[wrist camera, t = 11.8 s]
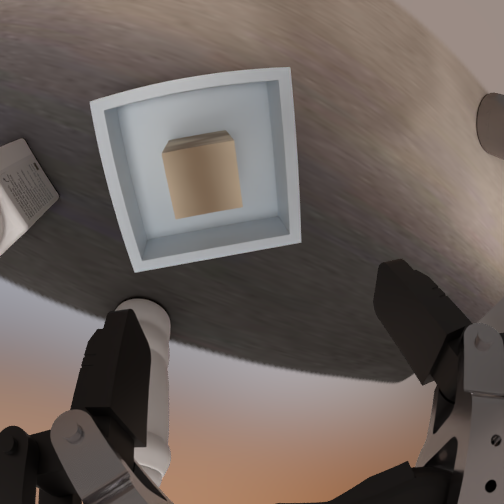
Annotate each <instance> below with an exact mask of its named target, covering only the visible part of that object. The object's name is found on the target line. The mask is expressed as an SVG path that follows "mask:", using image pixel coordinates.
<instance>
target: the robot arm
mask: <svg viewBox="0 0 504 504" xmlns="http://www.w3.org/2000/svg"><path fill="white" fill-rule="evenodd" d="M477 130H478V136H479V140H480V143H481V145H482V147H483V148H484V150H485V151H486V152H487V153H489V154H492V155H494V156H496V157H499V158H501V159H503V160H504V95H501V94H498V93H490V94H488V95H486V96H485V97H484V99H483V100H482V102H481V105H480V107H479V111H478V118H477ZM373 303H374V309H375V312H376V315H377V317H378V318H379V320H380V321H381V323H382V324H383V325H384V327H385V328H386V330H387V331H388V333H389V334H390V336H391V337H392V339H393V340H394V342H395V343H396V345H397V346H398V348H399V350H400V351H401V353H402V354H403V356H404V357H405V359H406V360H407V362H408V364H409V365H410V367H411V368H412V370H413V371H414V373H415V375H416V376H417V378H418V379H419V381H420V382H421V384H422V385H425V384H427V383H429V382H432V381H435V382H436V384H437V386H436V389H435V391H434V399H433V406H432V412H431V418H430V424H429V429H428V435H427V439H426V442H425V444H424V446H423V448H422V450H421V452H420V455H419V457H418V460H417V463H416V466H415V467H413V468H411V467H410V465H409V463H408V461H406V462H404V463H402V464H400V465H398V466H395V467H393V468H391V469H388V470H386V471H384V472H381V473H379V474H376V475H374V476H371V477H369V478H367V479H366V480H364V481H363V482H361V483H360V484H358V485H356V486H355V487H353V488H352V489H350V490H348V491H347V492H345V493H343V494H342V495H340V496H338V497H336V498H335V499H333V500H331V501H328V502H319V503H277V504H504V333H498V332H497V330H495V329H494V328H492V327H491V326H489V325H487V324H483V323H474V324H472V323H471V322H470V320H469V319H468V318H467V317H466V316H465V315H464V314H463V313H462V311H461V310H460V309H459V308H458V307H457V306H456V305H455V304H454V303H453V302H452V301H451V299H450V298H449V297H448V296H445V293H444V292H443V291H442V290H441V289H440V288H438V286H437V285H436V284H435V283H434V282H433V281H432V280H431V279H430V278H429V277H428V276H426V275H425V274H423V273H421V272H419V271H417V270H413V269H412V268H411V267H410V266H409V265H408V264H407V263H406V262H405V261H404V260H403V259H396V260H392V261H388V262H383V263H381V264H380V265H379V268H378V274H377V281H376V287H375V293H374V300H373ZM84 355H85V357H84V358H83V361H82V365H81V366H82V368H80V372H79V376H78V380H77V384H76V388H75V392H74V396H73V401H72V405H71V409H70V410H69V411H66V412H64V413H63V414H61V415H60V416H59V417H58V418H57V419H56V420H55V421H54V423H53V425H52V428H51V430H47V431H44V432H40V433H36V434H32V435H28V434H27V433H26V432H25V431H23V429H21V428H20V427H17V426H9V427H7V428H5V429H4V430H2V431H1V432H0V504H35V497H36V487H38V488H39V504H82V501H83V504H174V503H173V502H171V501H170V500H169V498H168V497H167V496H166V495H165V494H164V493H163V492H162V491H161V490H160V489H159V487H158V486H157V485H156V484H155V483H154V482H153V481H152V479H151V478H150V477H149V476H148V475H147V473H146V472H145V471H144V470H143V469H142V467H141V466H140V465H139V464H138V462H137V461H136V460H135V459H134V447H146V445H147V416H148V398H149V383H150V370H151V351H150V347H149V343H148V341H147V339H146V337H145V334H144V332H143V330H142V328H141V326H140V323H139V321H138V319H137V317H136V314H135V312H134V311H133V310H132V309H124V310H117V311H110V312H109V313H108V314H107V317H106V321H105V324H104V328H103V329H97V330H96V332H95V333H94V335H93V336H92V337H91V338H90V340H89V341H88V344H87V347H86V351H85V354H84Z"/></svg>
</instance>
